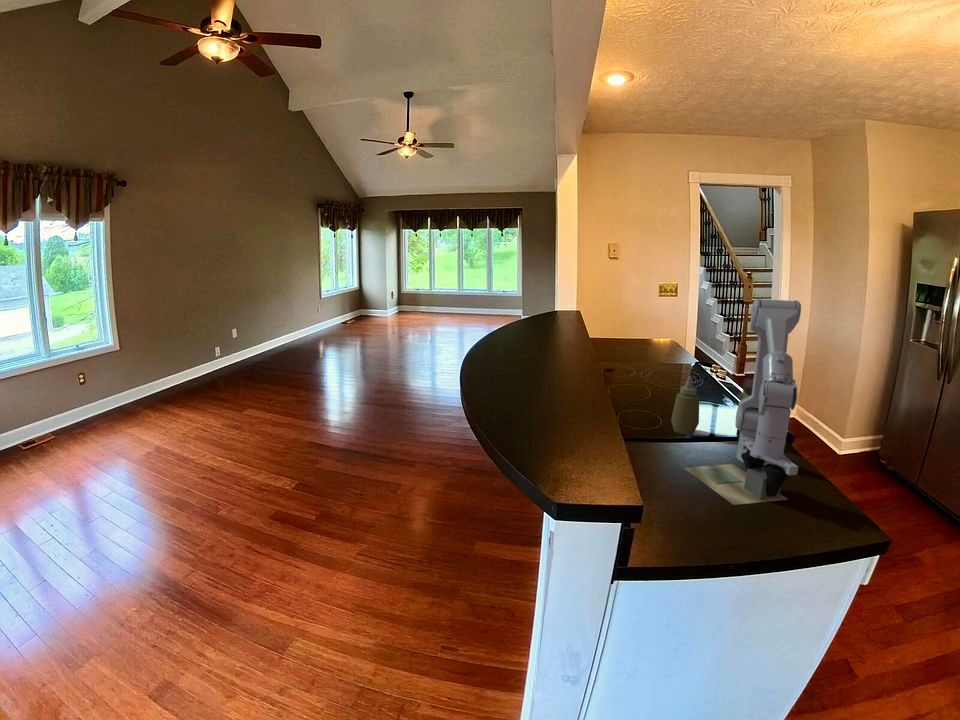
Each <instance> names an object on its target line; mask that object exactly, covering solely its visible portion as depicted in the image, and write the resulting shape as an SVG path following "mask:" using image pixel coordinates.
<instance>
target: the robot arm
mask: <svg viewBox="0 0 960 720" xmlns="http://www.w3.org/2000/svg"><path fill="white" fill-rule="evenodd" d="M801 313H802V304H801V302H800V301H799V300H797V299H796V300H781V299H780V300H779V299H763V298H762V299H760V298H756V299H754V301H753V302H752V306H751V315H750V323H749V327H750V331H752V332H753V333H755V334H756V335H757V349H756V358H755V366H754V374H753V379H752V380H753V388H752V395H751V396H749V397H747V398H745V399H743V400H742V399H741V400H740V401H739V402H738V404H737V405H738V407H737V409H736V415H735V424H734V425H735V428H736V431H737V430H740V437H739V439H738V443H737V444H738V445H737V451H736V459H737V460H738V461H739V462H742V463H743V464H744V466H745V470H746V471H745V472H747V469H752V468H764V467H765V471H766V476H767V486H766V495H767V496H768V497H771V496H776V495H777V493H778V491H779V489H780V488H781V489H782V486H783V485H784V483H785V482H786V481H787V480H788V479H789V478H790V477H791V476H797V475H798V471H799V466H798V465H796V464H795V463H794V462H793V461H792V460H790V458H788V457H787V456H786V455H785V454H784V451H785V446H786V442H787V441H786V439H787V435H788V429H789V423H790V417H791V413H792V411H793V410H794V409H795V407H796V405H797V401H798V385H797V383H796V379H794V374H793V373H794V370H793V369H794V367H793V365H794V364H793V363H794V362H793V358H792V356H791V355H789V354H788V353H787V350H788V340H789V334H791V333H792V331H793V330H795V328H796V326H797V325H798V323H799V322H800V319H801ZM748 407H754V408H759V409H752V408H748ZM791 410H792V411H791ZM766 465H773V466H766Z"/></svg>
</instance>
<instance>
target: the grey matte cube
mask: <svg viewBox="0 0 960 720" xmlns="http://www.w3.org/2000/svg"><path fill="white" fill-rule="evenodd" d="M765 467H766V466H763V467H762V468H752V469H747V471H745V472H746V478H745V485H744V489H745V490H747V491H748V492H750V493H751V494H753V495H754V496H756V497H757V498H759V499H770V498H779V496H780V494H781V489H782V487H781V488H780V489H779V491H778V493H777V495H776V496H771V497H768V496H767V495H766V486H767V476H766V471H765Z"/></svg>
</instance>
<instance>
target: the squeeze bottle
mask: <svg viewBox="0 0 960 720" xmlns="http://www.w3.org/2000/svg"><path fill="white" fill-rule="evenodd" d="M697 393H698V388H697V387H694V380H693V376H691V375H689V376H687V379H686V381H685V384H684V385H683V386H681V387H680V391H679V392H678V393H677V394H676V396H675V402H674V404H673V410H672V415H671V418H670V420H671V425H672V429H673V431H674V432H676V434H680V435H686V436H689V435H694V433H695V431H696V430H697V427H698V426H699V424H700V397H699V395H697Z"/></svg>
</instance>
